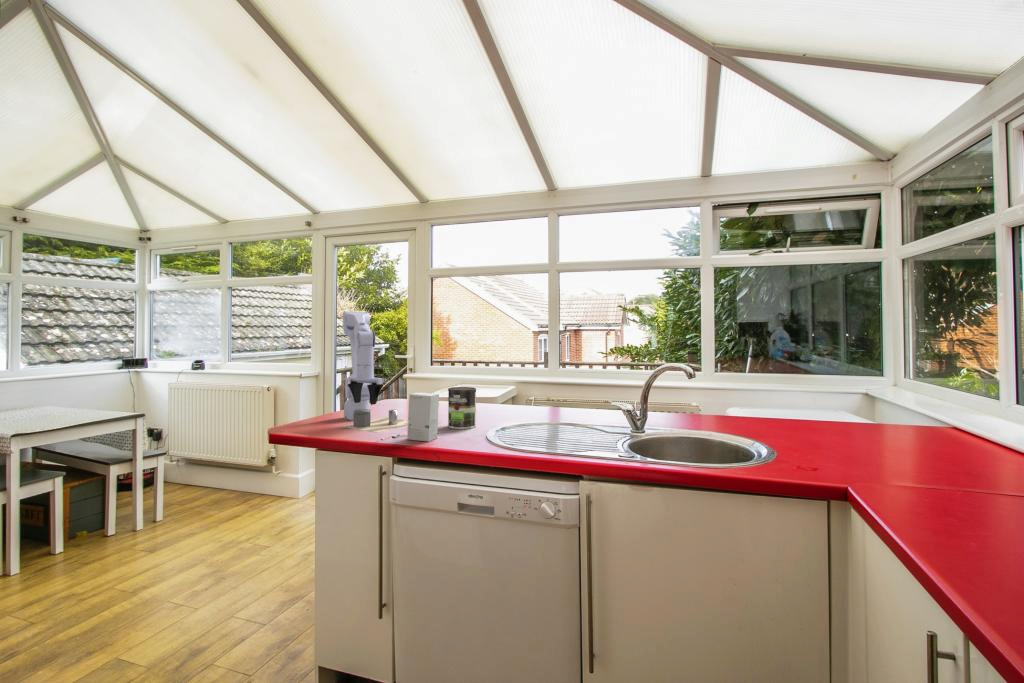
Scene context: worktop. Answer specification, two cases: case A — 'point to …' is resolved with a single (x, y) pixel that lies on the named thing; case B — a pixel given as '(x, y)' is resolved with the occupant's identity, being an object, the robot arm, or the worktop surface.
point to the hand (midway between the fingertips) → (365, 403)
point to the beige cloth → (380, 425)
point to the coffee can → (462, 407)
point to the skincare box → (423, 416)
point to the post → (392, 417)
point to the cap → (362, 418)
